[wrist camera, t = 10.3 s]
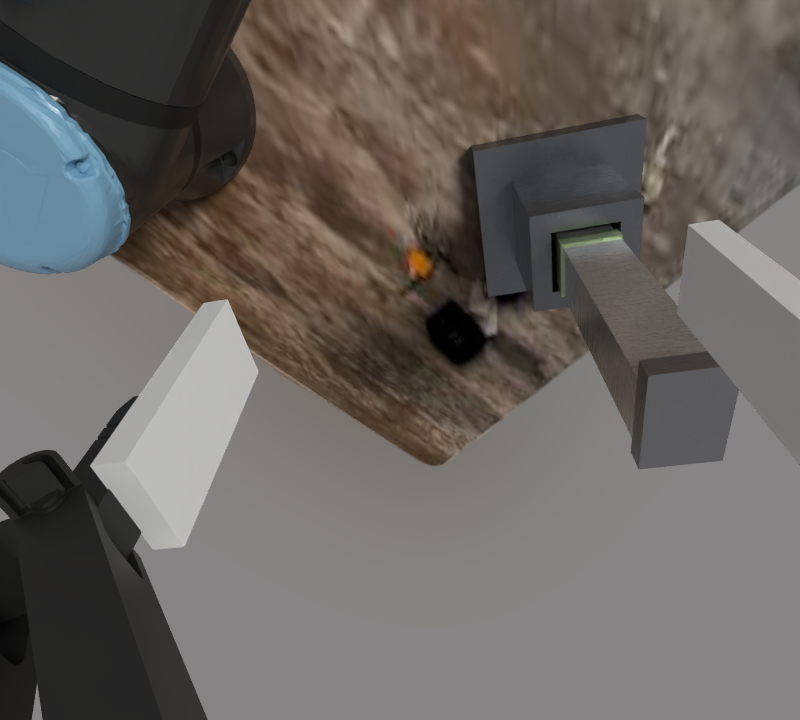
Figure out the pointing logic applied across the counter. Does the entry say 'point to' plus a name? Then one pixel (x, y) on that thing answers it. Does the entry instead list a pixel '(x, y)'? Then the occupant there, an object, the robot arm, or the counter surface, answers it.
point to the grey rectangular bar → (644, 350)
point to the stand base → (555, 199)
